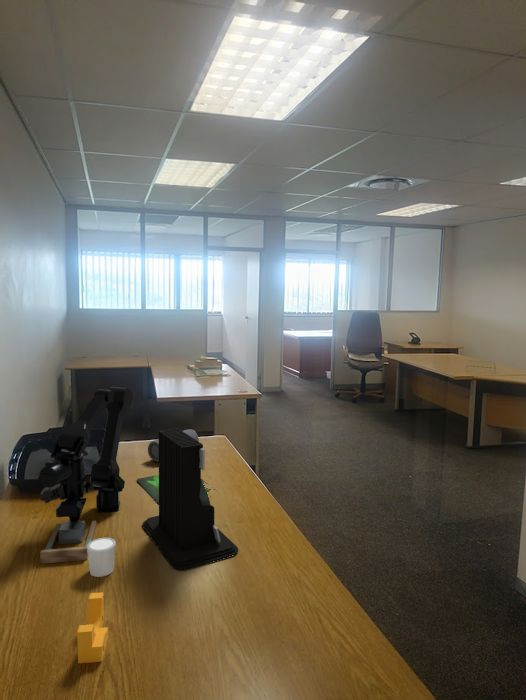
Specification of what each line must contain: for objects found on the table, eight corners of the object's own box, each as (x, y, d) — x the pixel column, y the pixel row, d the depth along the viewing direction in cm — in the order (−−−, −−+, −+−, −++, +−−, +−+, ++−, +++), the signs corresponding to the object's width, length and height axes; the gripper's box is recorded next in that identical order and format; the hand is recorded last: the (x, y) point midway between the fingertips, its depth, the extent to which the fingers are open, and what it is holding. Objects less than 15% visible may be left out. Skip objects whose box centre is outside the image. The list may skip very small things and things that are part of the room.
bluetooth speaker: (163, 466, 196) (162, 442, 195) (146, 461, 201) (146, 438, 200) (199, 451, 215) (199, 429, 214) (184, 447, 220) (184, 426, 219)
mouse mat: (221, 495, 170) (221, 492, 169) (161, 508, 158) (161, 505, 158) (189, 470, 192) (189, 468, 192) (134, 481, 181) (134, 478, 180)
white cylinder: (121, 566, 123) (121, 539, 123) (104, 580, 117) (104, 553, 116) (99, 560, 126) (98, 535, 125) (81, 574, 119) (80, 547, 118)
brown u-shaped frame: (96, 524, 145) (96, 515, 145) (86, 559, 126) (86, 548, 126) (56, 527, 143) (56, 517, 143) (40, 563, 124) (40, 552, 123)
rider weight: (85, 533, 140) (85, 520, 139) (81, 542, 135) (81, 528, 134) (63, 535, 139) (63, 521, 138) (59, 543, 134) (58, 530, 133)
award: (242, 554, 130) (243, 446, 127) (176, 573, 121) (176, 457, 117) (197, 510, 156) (197, 419, 153) (139, 523, 147) (138, 427, 143)
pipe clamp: (102, 662, 91) (101, 630, 91) (78, 664, 91) (77, 632, 90) (112, 620, 103) (112, 591, 102) (91, 621, 102) (90, 593, 102)
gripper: (50, 464, 146) (52, 514, 148) (34, 488, 128) (36, 545, 130) (89, 462, 148) (90, 511, 150) (79, 486, 130) (80, 541, 132)
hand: (74, 526), depth 140 cm, fingers closed
